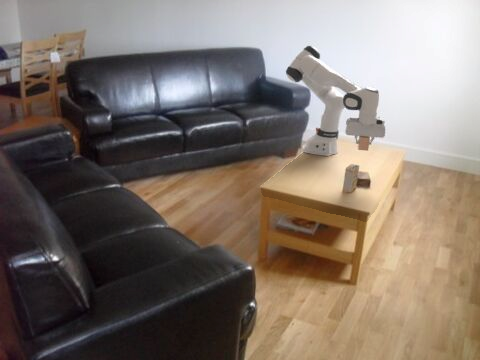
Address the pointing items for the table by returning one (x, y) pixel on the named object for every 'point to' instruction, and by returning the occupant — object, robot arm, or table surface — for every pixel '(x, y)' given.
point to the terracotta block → (363, 143)
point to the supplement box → (350, 178)
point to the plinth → (363, 179)
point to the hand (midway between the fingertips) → (363, 143)
